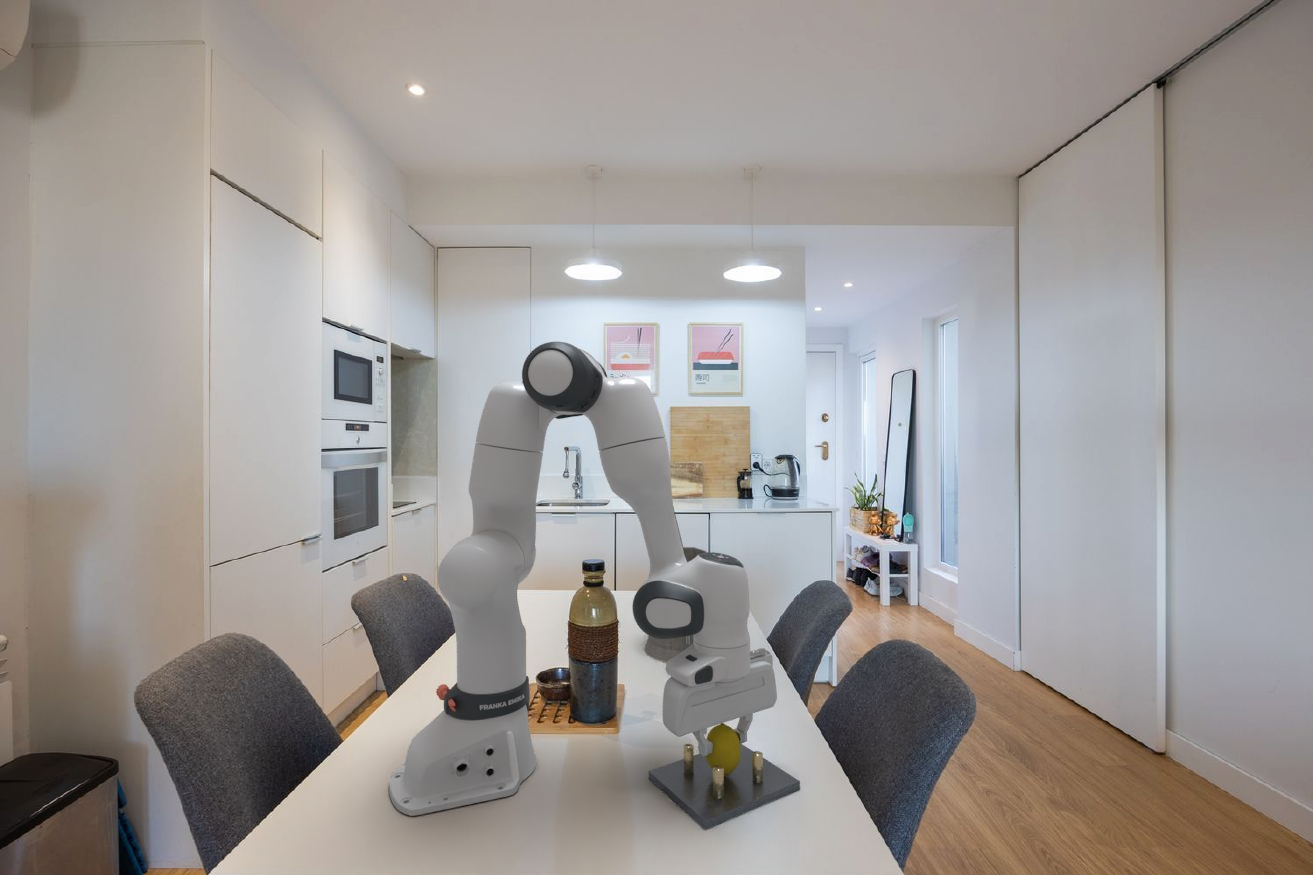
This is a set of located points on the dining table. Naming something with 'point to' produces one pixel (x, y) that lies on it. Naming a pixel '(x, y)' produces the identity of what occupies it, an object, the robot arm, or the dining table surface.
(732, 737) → the lemon
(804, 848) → the dining table surface
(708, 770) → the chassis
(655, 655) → the pitcher
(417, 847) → the dining table surface
